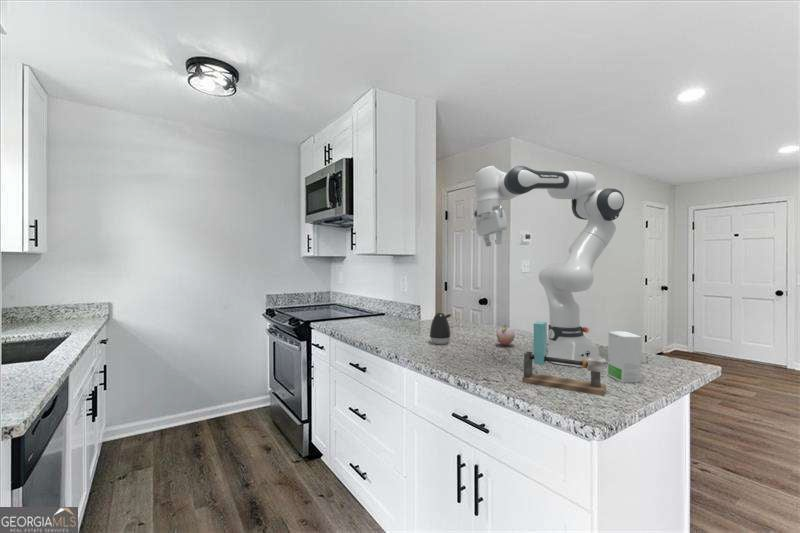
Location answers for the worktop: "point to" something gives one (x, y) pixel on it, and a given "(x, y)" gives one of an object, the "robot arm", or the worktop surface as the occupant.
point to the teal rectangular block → (540, 342)
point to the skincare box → (624, 356)
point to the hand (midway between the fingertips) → (493, 245)
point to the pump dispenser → (440, 329)
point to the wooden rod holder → (566, 383)
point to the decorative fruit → (505, 335)
